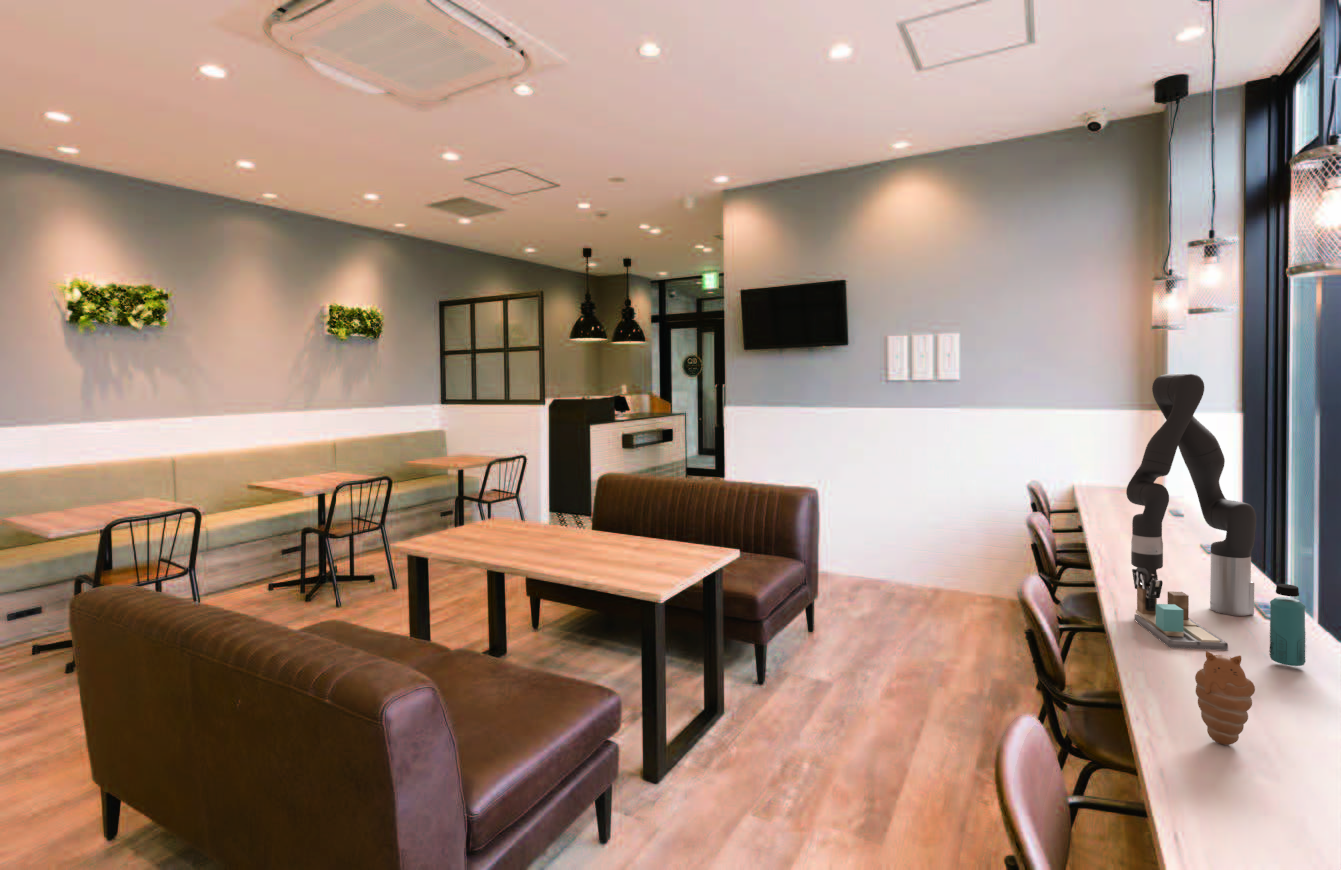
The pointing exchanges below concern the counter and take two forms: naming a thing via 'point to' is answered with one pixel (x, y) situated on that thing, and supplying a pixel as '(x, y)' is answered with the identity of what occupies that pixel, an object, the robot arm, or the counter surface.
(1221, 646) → the lane board
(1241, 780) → the counter surface
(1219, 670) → the cat ice cream
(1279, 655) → the beverage bottle
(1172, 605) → the teal cube
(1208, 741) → the counter surface
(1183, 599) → the short strip
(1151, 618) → the cube strip
